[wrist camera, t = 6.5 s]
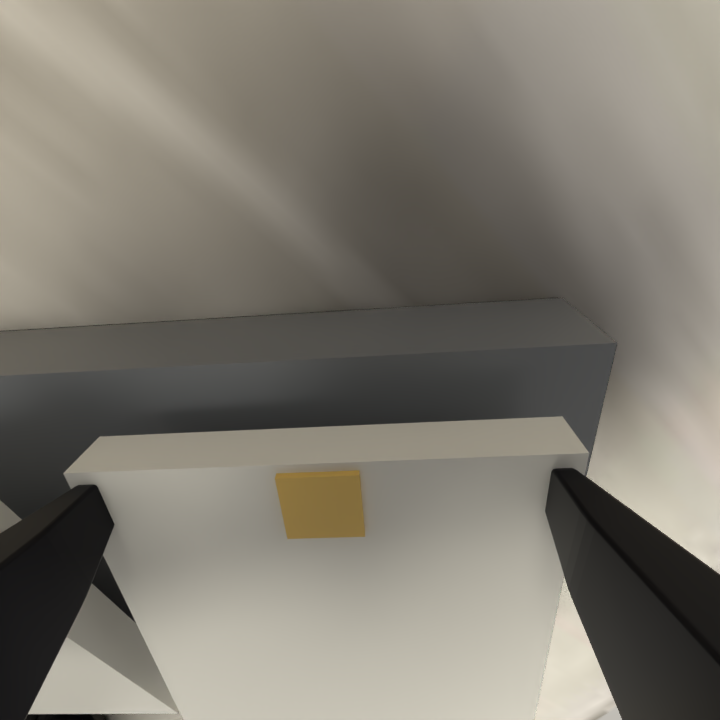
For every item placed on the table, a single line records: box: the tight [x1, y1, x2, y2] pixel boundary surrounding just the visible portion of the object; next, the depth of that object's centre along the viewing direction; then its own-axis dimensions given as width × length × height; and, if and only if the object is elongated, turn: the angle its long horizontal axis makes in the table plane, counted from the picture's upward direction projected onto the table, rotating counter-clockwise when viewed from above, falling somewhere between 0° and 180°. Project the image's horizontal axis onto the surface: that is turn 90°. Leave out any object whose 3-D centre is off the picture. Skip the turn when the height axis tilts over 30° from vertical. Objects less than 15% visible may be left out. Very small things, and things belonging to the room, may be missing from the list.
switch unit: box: [0, 298, 617, 623], centre depth 14 cm, size 15×24×4 cm, turn 94°
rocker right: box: [63, 416, 589, 720], centre depth 11 cm, size 12×10×1 cm
